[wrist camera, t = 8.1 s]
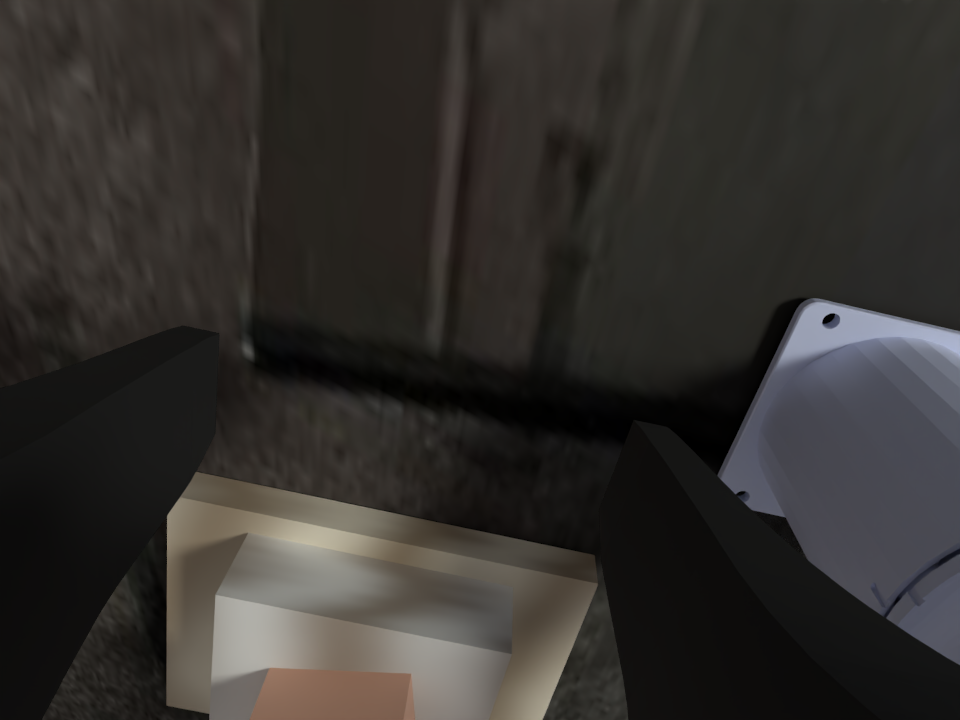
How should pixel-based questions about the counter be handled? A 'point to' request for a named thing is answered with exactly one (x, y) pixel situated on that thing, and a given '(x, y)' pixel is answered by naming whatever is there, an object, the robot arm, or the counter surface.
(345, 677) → the cube
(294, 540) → the base
